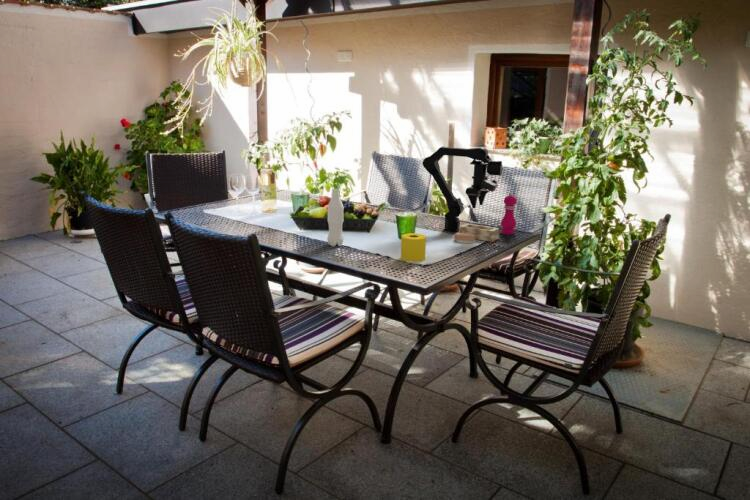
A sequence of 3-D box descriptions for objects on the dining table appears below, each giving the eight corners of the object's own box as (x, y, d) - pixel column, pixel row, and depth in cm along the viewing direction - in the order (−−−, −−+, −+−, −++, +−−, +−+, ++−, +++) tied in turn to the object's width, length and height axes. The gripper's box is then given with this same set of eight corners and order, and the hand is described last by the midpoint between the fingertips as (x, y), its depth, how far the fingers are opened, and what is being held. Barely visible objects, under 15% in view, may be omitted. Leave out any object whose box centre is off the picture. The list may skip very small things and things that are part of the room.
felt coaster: (452, 241, 281) (452, 240, 280) (460, 237, 288) (460, 236, 288) (471, 244, 276) (471, 243, 276) (478, 240, 284) (478, 239, 283)
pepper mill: (515, 235, 295) (518, 194, 289) (500, 234, 296) (503, 193, 291) (515, 231, 301) (518, 191, 296) (500, 230, 303) (503, 190, 297)
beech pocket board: (459, 236, 290) (460, 226, 288) (465, 233, 296) (466, 223, 294) (492, 241, 281) (493, 231, 280) (498, 238, 288) (499, 228, 286)
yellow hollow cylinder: (407, 262, 246) (408, 240, 244) (396, 256, 255) (397, 234, 253) (429, 260, 250) (430, 238, 248) (418, 254, 259) (418, 232, 256)
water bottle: (346, 244, 273) (346, 188, 266) (339, 247, 266) (340, 191, 259) (331, 242, 275) (331, 187, 268) (324, 246, 268) (324, 189, 262)
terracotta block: (454, 239, 281) (454, 234, 281) (456, 237, 285) (456, 232, 284) (473, 241, 278) (474, 236, 278) (475, 239, 282) (475, 234, 281)
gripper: (488, 178, 278) (486, 211, 282) (502, 173, 294) (500, 205, 298) (466, 176, 284) (464, 209, 288) (480, 171, 299) (478, 202, 303)
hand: (477, 206), depth 294 cm, fingers open, 9 cm apart
